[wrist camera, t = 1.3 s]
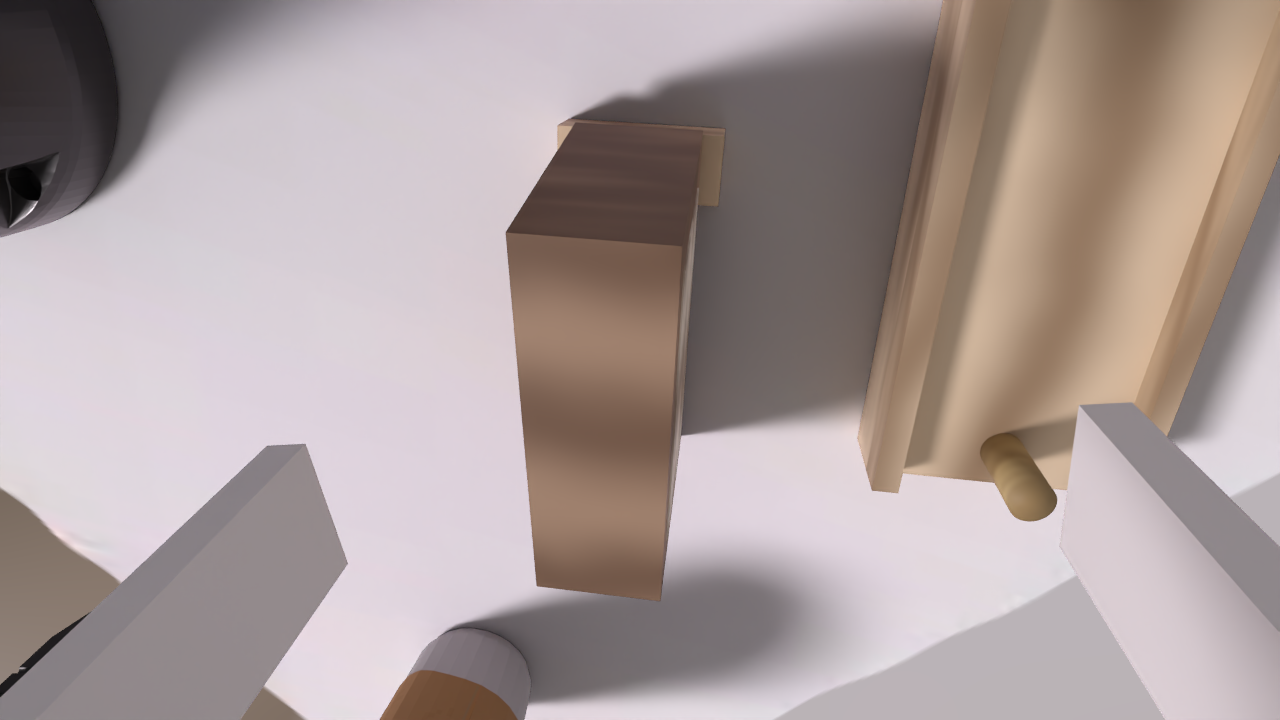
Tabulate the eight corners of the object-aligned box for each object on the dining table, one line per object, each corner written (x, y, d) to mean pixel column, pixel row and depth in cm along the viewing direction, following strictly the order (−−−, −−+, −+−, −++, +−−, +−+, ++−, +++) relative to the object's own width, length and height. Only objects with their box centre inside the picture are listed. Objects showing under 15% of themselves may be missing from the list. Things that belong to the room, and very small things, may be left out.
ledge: (857, 438, 33) (880, 521, 27) (960, -87, 24) (1023, -117, 19) (1094, 462, 32) (1167, 552, 27) (1286, -76, 24) (1450, -103, 18)
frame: (682, 436, 34) (661, 601, 27) (583, 426, 34) (536, 586, 27) (704, 130, 26) (684, 246, 19) (575, 122, 26) (505, 232, 19)
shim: (568, 184, 30) (557, 194, 28) (568, 118, 29) (557, 125, 27) (719, 194, 29) (717, 206, 27) (725, 128, 28) (724, 136, 26)
